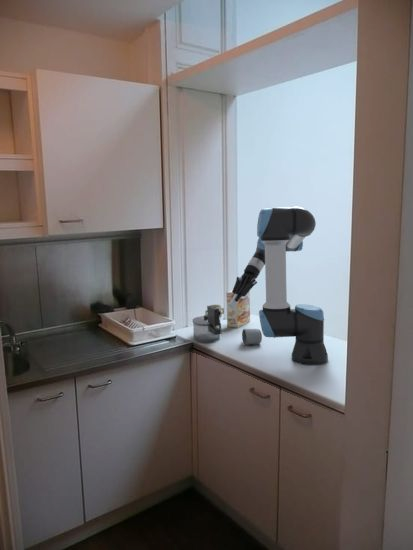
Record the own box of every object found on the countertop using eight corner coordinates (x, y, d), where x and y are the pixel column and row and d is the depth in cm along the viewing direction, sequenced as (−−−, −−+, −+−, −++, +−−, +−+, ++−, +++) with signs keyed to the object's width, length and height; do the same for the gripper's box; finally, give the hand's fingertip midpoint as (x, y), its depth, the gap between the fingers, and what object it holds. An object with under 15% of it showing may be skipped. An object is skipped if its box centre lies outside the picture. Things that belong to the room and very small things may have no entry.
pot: (231, 344, 217) (231, 326, 215) (207, 349, 212) (206, 330, 210) (209, 331, 239) (209, 315, 238) (186, 335, 234) (186, 318, 233)
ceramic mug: (262, 345, 214) (262, 329, 213) (246, 347, 212) (245, 331, 211) (255, 339, 224) (255, 324, 223) (239, 341, 223) (239, 325, 222)
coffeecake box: (238, 328, 244) (236, 292, 241) (226, 326, 248) (225, 291, 245) (250, 321, 257) (250, 287, 254) (239, 320, 261) (238, 286, 257)
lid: (188, 320, 229) (187, 302, 228) (213, 316, 234) (212, 299, 233) (203, 329, 211) (203, 311, 209) (230, 325, 216) (229, 307, 214)
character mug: (208, 332, 238) (207, 308, 236) (203, 329, 245) (202, 305, 242) (227, 329, 242) (226, 305, 240) (221, 326, 249) (220, 303, 247)
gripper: (267, 274, 227) (244, 312, 219) (248, 271, 237) (226, 308, 229) (259, 264, 223) (236, 303, 215) (241, 263, 233) (217, 299, 225)
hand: (230, 306), depth 222 cm, fingers closed
